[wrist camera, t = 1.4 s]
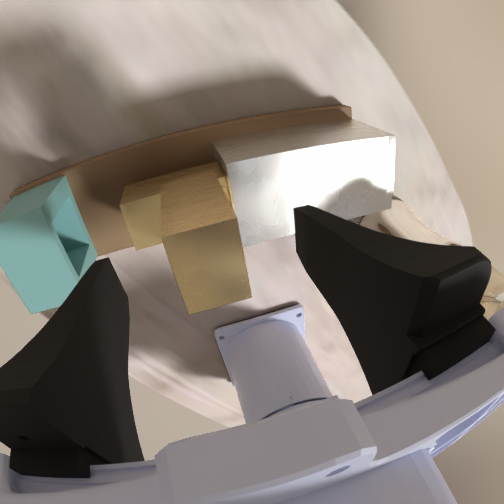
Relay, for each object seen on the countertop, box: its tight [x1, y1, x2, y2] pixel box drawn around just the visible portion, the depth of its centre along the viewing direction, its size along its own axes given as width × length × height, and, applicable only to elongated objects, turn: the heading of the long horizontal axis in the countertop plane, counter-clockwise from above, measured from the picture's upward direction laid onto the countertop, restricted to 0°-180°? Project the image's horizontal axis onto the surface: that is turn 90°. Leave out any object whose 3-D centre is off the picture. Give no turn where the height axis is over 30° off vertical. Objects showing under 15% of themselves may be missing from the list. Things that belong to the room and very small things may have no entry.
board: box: [10, 105, 352, 257], centre depth 18 cm, size 6×22×1 cm, turn 98°
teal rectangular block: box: [0, 175, 97, 314], centre depth 15 cm, size 6×4×4 cm
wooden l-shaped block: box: [119, 161, 252, 314], centre depth 14 cm, size 4×13×8 cm, turn 98°
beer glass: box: [360, 199, 504, 320], centre depth 19 cm, size 7×7×15 cm
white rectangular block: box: [212, 119, 396, 247], centre depth 17 cm, size 4×9×4 cm, turn 98°
